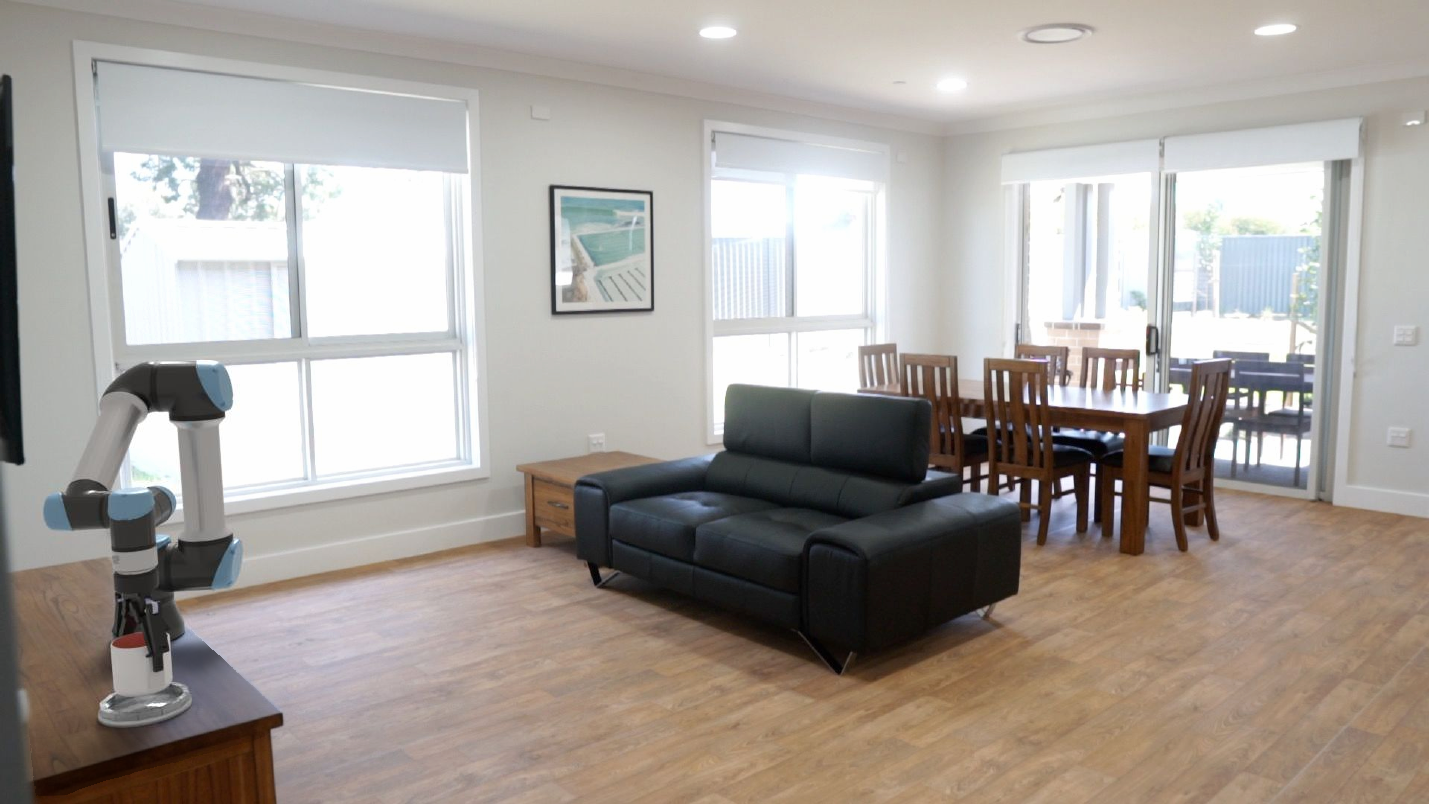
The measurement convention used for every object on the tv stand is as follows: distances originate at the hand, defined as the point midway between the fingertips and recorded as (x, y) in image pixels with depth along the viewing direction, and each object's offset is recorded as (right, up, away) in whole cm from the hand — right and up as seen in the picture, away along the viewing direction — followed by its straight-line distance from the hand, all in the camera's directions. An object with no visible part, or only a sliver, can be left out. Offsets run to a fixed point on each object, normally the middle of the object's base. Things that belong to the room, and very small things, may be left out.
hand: (143, 680), depth 198 cm
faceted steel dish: (0, -6, +1) cm, 6 cm away
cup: (0, -2, 0) cm, 2 cm away
